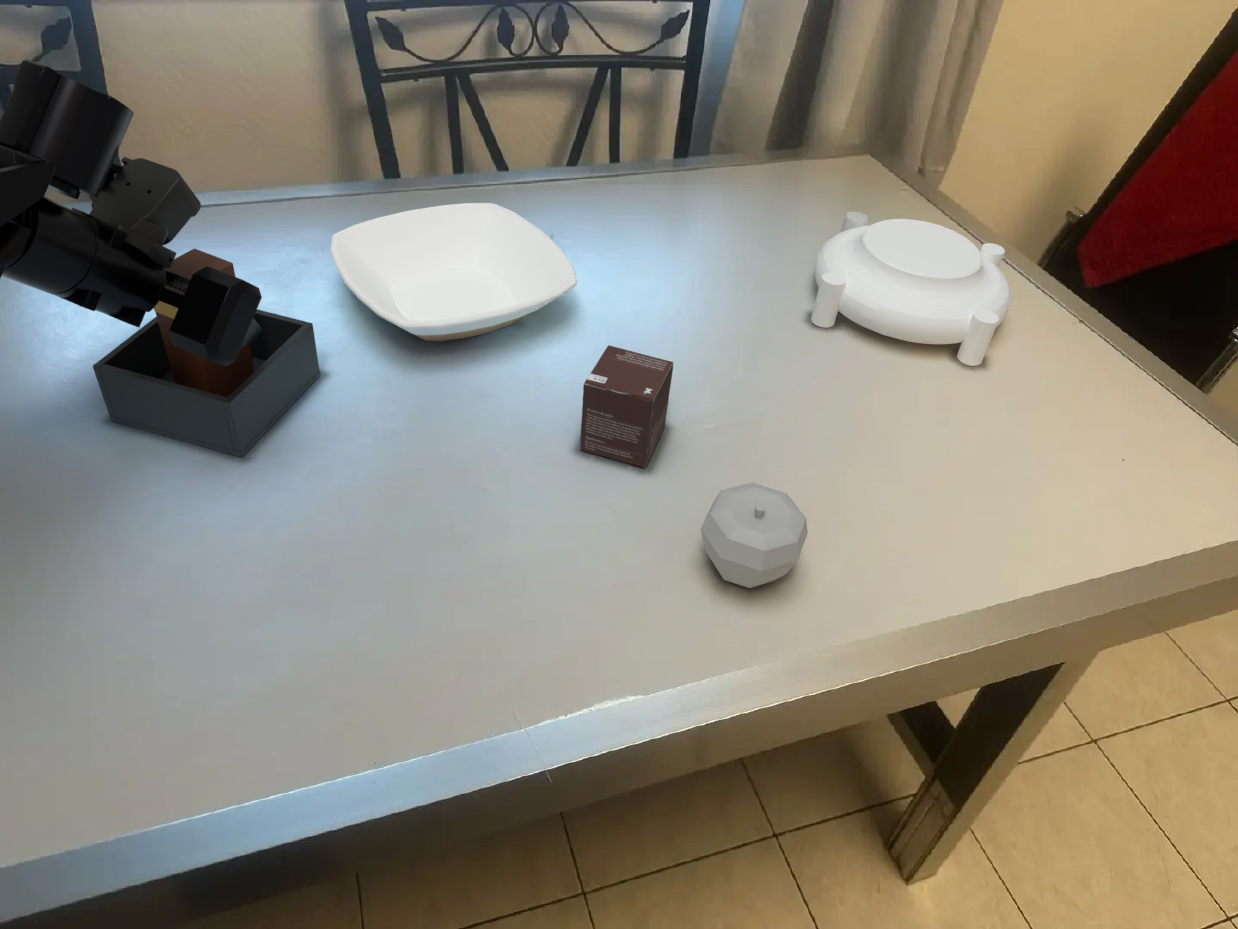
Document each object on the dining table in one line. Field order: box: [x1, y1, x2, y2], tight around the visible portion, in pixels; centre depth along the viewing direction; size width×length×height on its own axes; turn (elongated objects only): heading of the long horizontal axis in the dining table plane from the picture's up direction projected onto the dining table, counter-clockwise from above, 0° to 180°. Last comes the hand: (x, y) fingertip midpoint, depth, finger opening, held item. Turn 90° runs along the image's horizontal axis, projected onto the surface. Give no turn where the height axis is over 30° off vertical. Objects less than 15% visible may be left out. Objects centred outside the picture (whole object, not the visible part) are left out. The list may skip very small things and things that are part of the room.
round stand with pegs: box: [810, 211, 1012, 367], centre depth 102 cm, size 24×24×7 cm
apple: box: [700, 482, 808, 589], centre depth 70 cm, size 8×8×7 cm
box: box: [579, 344, 674, 468], centre depth 80 cm, size 6×6×7 cm
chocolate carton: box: [153, 248, 255, 397], centre depth 78 cm, size 5×4×12 cm
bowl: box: [329, 202, 578, 342], centre depth 95 cm, size 22×22×5 cm
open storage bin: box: [92, 308, 321, 459], centre depth 80 cm, size 12×12×6 cm
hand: (216, 317), depth 78 cm, fingers open, 9 cm apart
